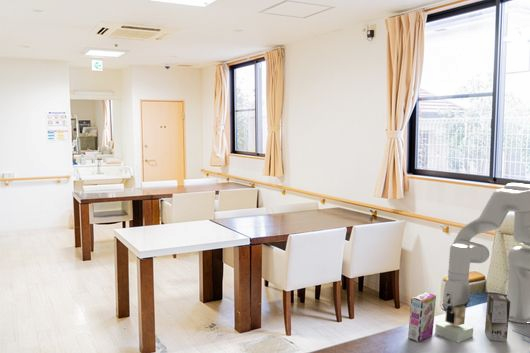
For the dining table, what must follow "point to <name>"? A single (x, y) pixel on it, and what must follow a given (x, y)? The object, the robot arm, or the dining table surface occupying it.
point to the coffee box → (497, 317)
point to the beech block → (458, 315)
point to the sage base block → (454, 331)
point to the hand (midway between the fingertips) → (454, 320)
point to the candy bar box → (421, 316)
